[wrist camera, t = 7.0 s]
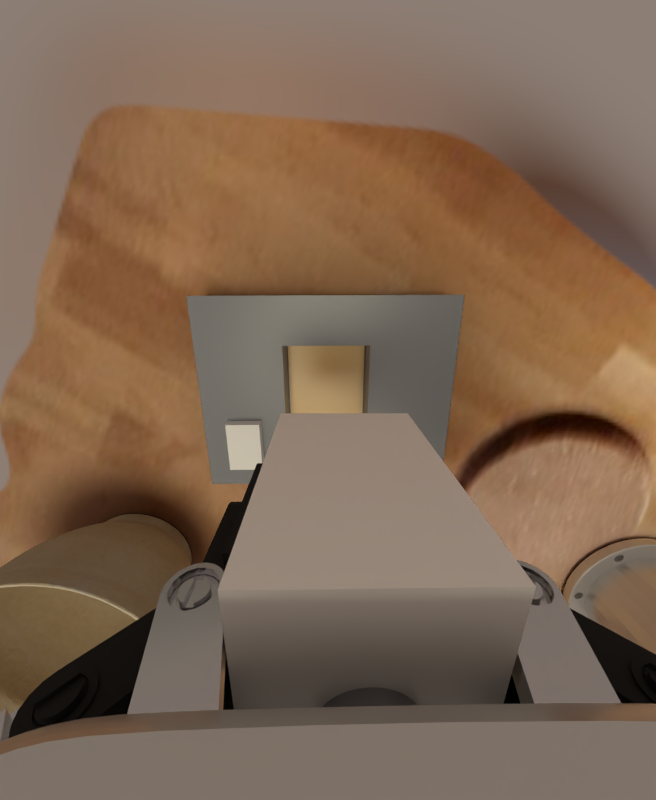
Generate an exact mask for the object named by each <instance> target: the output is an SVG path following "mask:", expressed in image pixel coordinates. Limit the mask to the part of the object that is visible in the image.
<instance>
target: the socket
mask: <svg viewBox="0 0 656 800" xmlns="http://www.w3.org/2000/svg"><path fill="white" fill-rule="evenodd" d="M463 303H464V295H278V296H187V304H188V311H189V318H190V325H191V333H192V340H193V347H194V354H195V362H196V369H197V376H198V383H199V390H200V398H201V405H202V412H203V419H204V427H205V434H206V441H207V448H208V455H209V463H210V470H211V477H212V484H249V483H250V480H251V478H252V475H253V472H254V470H255V467H256V465H257V463H263V462H264V459H265V456H266V453H267V450H268V448H269V445H270V442H271V439H272V436H273V434H274V431H275V428H276V425H277V422H278V420H279V417H280V414H281V413H408V414H409V416H410V417H411V418H412V420H413V421H414V422H415V424H416V425H417V427H418V428H419V429H420V431H421V432H422V433H423V435H424V436H425V437H426V439H427V440H428V441H429V443H430V444H431V445H432V447H433V448H434V449H435V451H436V452H437V454H438V455H439V456H440V458H441V459H442V460H443V462H444V454H445V446H446V438H447V430H448V422H449V414H450V406H451V398H452V390H453V382H454V374H455V367H456V359H457V351H458V343H459V335H460V327H461V319H462V311H463Z"/></svg>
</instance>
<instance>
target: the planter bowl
mask: <svg viewBox="0 0 656 800" xmlns="http://www.w3.org/2000/svg"><path fill="white" fill-rule="evenodd" d="M190 565H191V551H190V548H189V545H188V543H187V541H186V540H185V538H184V537H183V535H182V534H181V533H180V532H179V531H178V530H177V529H175V528H174V527H173V526H171V525H170V524H168V523H167V522H165V521H163V520H161V519H158V518H156V517H152V516H149V515H142V514H126V515H120V516H117V517H114V518H111V519H109V520H107V521H106V522H104V523H98V524H93V525H89V526H85V527H82V528H78V529H75V530H72V531H69V532H66V533H64V534H61V535H59V536H56V537H54V538H52V539H49V540H47V541H45V542H43V543H41V544H39V545H37V546H35V547H33V548H31V549H29V550H28V551H26V552H24V553H23V554H21V555H19V556H18V557H16V558H14V559H13V560H11V561H10V562H8V563H7V564H5V565H4V566H2V567H1V568H0V711H2V710H4V709H7V711H8V712H9V714H10V713H12V712H13V711H15V710H17V709H19V708H20V707H21V705H22V704H23V703H24V701H25V700H26V699H27V697H28V696H29V695H30V694H31V693H32V692H33V691H34V690H35V689H36V688H37V687H38V686H39V685H40V684H41V683H42V682H43V681H44V680H46V679H47V678H48V677H50V676H51V675H52V674H54V673H55V672H56V671H58V670H59V669H61V668H62V667H64V666H66V665H67V664H69V663H70V662H72V661H73V660H75V659H77V658H78V657H80V656H81V655H83V654H84V653H86V652H88V651H89V650H91V649H92V648H94V647H95V646H97V645H99V644H100V643H102V642H103V641H105V640H106V639H108V638H110V637H111V636H113V635H114V634H116V633H117V632H119V631H121V630H122V629H124V628H125V627H127V626H128V625H130V624H132V623H133V622H135V621H136V620H138V619H139V618H141V617H143V616H144V615H146V614H147V613H149V612H150V611H152V610H154V609H155V608H156V607H157V604H158V600H159V597H160V593H161V591H162V589H163V587H164V585H165V584H166V583H167V581H168V580H169V579H170V578H171V577H172V576H173V575H175V574H176V573H177V572H178V571H180V570H182V569H184V568H186V567H187V566H190Z"/></svg>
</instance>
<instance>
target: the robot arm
mask: <svg viewBox="0 0 656 800" xmlns="http://www.w3.org/2000/svg"><path fill="white" fill-rule="evenodd" d="M262 464H263V463H257V465H256V467H255V470H254V472H253V475H252V478H251V480H250V483H249V485H248V488H247V491H246V493H245V496H244V498H243V501H242V502H230V503H229V505H228V507H227V509H226V511H225V514H224V516H223V518H222V520H221V523H220V525H219V527H218V529H217V532H216V534H215V536H214V538H213V541H212V543H211V545H210V547H209V550H208V552H207V554H206V556H205V559H204V561H203V563H197V564H193V565H190V566H187V567H186V568H184V569H182V570H180V571H178V572H177V573H176V574H175V575H173V576H172V577H171V578H170V579H169V580H168V581H167V583H166V584H165V585H164V587H163V589H162V591H161V593H160V597H159V600H158V604H157V607H156V608H155V609H154V610H152V611H150V612H149V613H147V614H146V615H144V616H143V617H141V618H139V619H138V620H136V621H135V622H133V623H132V624H130V625H128V626H127V627H125V628H124V629H122V630H121V631H119V632H117V633H116V634H114V635H113V636H111V637H110V638H108V639H106V640H105V641H103V642H102V643H100V644H99V645H97V646H95V647H94V648H92V649H91V650H89V651H88V652H86V653H84V654H83V655H81V656H80V657H78V658H77V659H75V660H73V661H72V662H70V663H69V664H67V665H66V666H64V667H62V668H61V669H59V670H58V671H56V672H55V673H54V674H52V675H51V676H50V677H48V678H47V679H46V680H44V681H43V682H42V683H41V684H40V685H39V686H38V687H37V688H36V689H35V690H34V691H33V692H32V693H31V694H30V695H29V696H28V697H27V699H26V700H25V701H24V703H23V704H22V705H21V707H20V708H19V709H17V710H15V711H13V712H12V713H10V714H9V712H8V711H7V709H4V710H2V711H0V800H656V539H650V538H641V539H630V540H624V541H620V542H617V543H614V544H611V545H609V546H606V547H604V548H602V549H600V550H598V551H596V552H595V553H593V554H592V555H590V556H588V557H587V558H586V559H585V560H584V561H582V562H581V563H580V564H579V565H578V566H577V567H576V569H575V570H574V571H573V572H572V574H571V575H570V577H569V578H568V580H567V582H566V585H565V588H564V592H563V595H562V593H561V591H560V589H559V588H558V587H557V585H556V584H555V582H554V581H553V580H552V579H551V578H550V577H549V576H548V575H546V574H545V573H544V572H542V571H541V570H539V569H538V568H536V567H534V566H532V565H530V564H528V563H525V562H522V561H518V560H517V562H518V563H519V564H520V566H521V567H522V568H523V570H524V571H525V572H526V574H527V575H528V576H529V578H530V579H531V580H532V582H533V583H534V584H535V586H536V589H535V593H534V596H533V600H532V603H531V607H530V610H529V614H528V618H527V621H526V625H525V628H524V632H523V635H522V639H521V642H520V646H519V650H518V653H517V657H516V660H515V664H514V667H513V671H512V675H511V678H510V682H509V685H508V689H507V692H506V696H505V700H504V703H503V704H463V705H410V706H360V707H314V708H275V709H237V710H234V707H233V699H232V692H231V685H230V677H229V670H228V663H227V656H226V648H225V641H224V634H223V626H222V619H221V612H220V605H219V597H218V588H219V585H220V582H221V579H222V577H223V574H224V571H225V568H226V565H227V563H228V560H229V557H230V554H231V551H232V548H233V546H234V543H235V540H236V537H237V534H238V532H239V529H240V526H241V523H242V520H243V518H244V515H245V512H246V509H247V506H248V504H249V501H250V498H251V495H252V492H253V490H254V487H255V484H256V481H257V478H258V476H259V473H260V470H261V467H262Z"/></svg>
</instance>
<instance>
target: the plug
mask: <svg viewBox="0 0 656 800" xmlns="http://www.w3.org/2000/svg"><path fill="white" fill-rule="evenodd" d="M535 589H536V586H535V584H534V583H533V582H532V580H531V579H530V578H529V576H528V575H527V574H526V572H525V571H524V570H523V568H522V567H521V566H520V564H519V563H518V562H517V560H516V559H515V557H514V556H513V555H512V553H511V552H510V551H509V549H508V548H507V547H506V545H505V544H504V543H503V541H502V540H501V539H500V537H499V536H498V535H497V533H496V532H495V530H494V529H493V528H492V526H491V525H490V524H489V522H488V521H487V520H486V518H485V517H484V516H483V514H482V513H481V512H480V510H479V509H478V508H477V506H476V505H475V503H474V502H473V501H472V499H471V498H470V497H469V495H468V494H467V493H466V491H465V490H464V489H463V487H462V486H461V485H460V483H459V482H458V481H457V479H456V478H455V476H454V475H453V474H452V472H451V471H450V470H449V468H448V467H447V466H446V464H445V463H444V462H443V460H442V459H441V458H440V456H439V455H438V454H437V452H436V451H435V449H434V448H433V447H432V445H431V444H430V443H429V441H428V440H427V439H426V437H425V436H424V435H423V433H422V432H421V431H420V429H419V428H418V427H417V425H416V424H415V422H414V421H413V420H412V418H411V417H410V416H409V414H408V413H281V414H280V417H279V420H278V422H277V425H276V428H275V431H274V434H273V436H272V439H271V442H270V445H269V448H268V450H267V453H266V456H265V459H264V462H263V464H262V467H261V470H260V473H259V476H258V478H257V481H256V484H255V487H254V490H253V492H252V495H251V498H250V501H249V504H248V506H247V509H246V512H245V515H244V518H243V520H242V523H241V526H240V529H239V532H238V534H237V537H236V540H235V543H234V546H233V548H232V551H231V554H230V557H229V560H228V563H227V565H226V568H225V571H224V574H223V577H222V579H221V582H220V585H219V588H218V597H219V605H220V612H221V619H222V626H223V634H224V641H225V648H226V656H227V663H228V670H229V677H230V685H231V692H232V699H233V707H234V710H237V709H275V708H314V707H360V706H410V705H463V704H503V703H504V700H505V696H506V692H507V689H508V685H509V682H510V678H511V675H512V671H513V667H514V664H515V660H516V657H517V653H518V650H519V646H520V642H521V639H522V635H523V632H524V628H525V625H526V621H527V618H528V614H529V610H530V607H531V603H532V600H533V596H534V593H535Z"/></svg>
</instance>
